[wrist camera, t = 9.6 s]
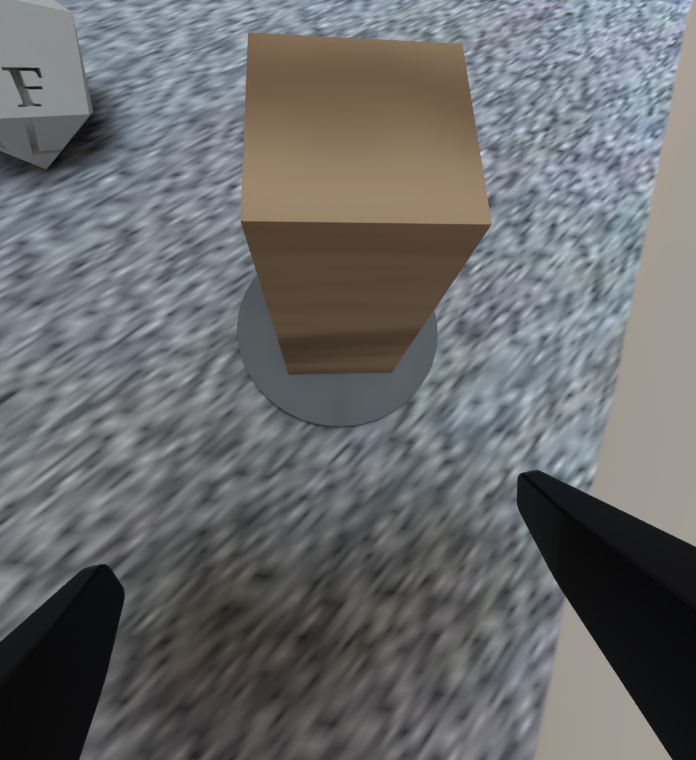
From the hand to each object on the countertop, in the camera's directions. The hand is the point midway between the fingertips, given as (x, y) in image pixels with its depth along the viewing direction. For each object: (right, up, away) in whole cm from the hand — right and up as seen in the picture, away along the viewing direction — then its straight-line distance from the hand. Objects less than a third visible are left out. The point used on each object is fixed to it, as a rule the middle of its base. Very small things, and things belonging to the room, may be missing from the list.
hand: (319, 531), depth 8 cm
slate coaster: (0, +6, +13) cm, 14 cm away
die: (-18, +19, +15) cm, 30 cm away
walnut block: (0, +6, +12) cm, 14 cm away
